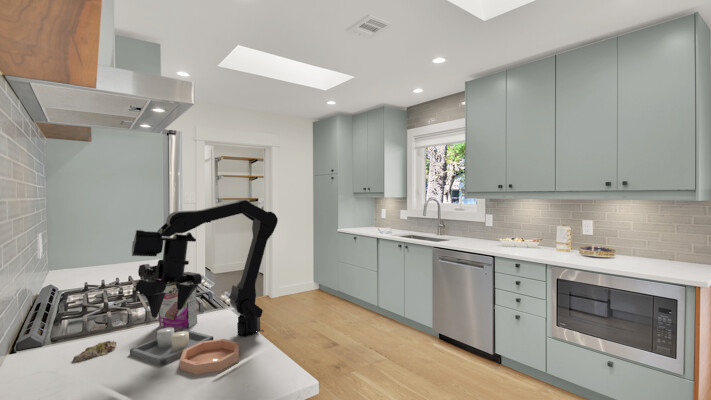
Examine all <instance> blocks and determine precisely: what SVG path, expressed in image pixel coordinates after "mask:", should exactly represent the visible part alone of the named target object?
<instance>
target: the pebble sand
mask: <svg viewBox="0 0 711 400" xmlns="http://www.w3.org/2000/svg"><path fill="white" fill-rule="evenodd" d="M171 340H172V353H174V352H177V351H179V350H181V349H183V348H186V347H188V346H189V332H187V331H181V332H176V333H174V334H172V335H171Z"/></svg>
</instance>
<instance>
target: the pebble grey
mask: <svg viewBox="0 0 711 400" xmlns="http://www.w3.org/2000/svg"><path fill="white" fill-rule="evenodd" d="M174 332H175V327H163V328H161V329H158V330H157V331H156V339H157V347H158V348H159V349H165V348H169V347H172V340H171V335H172V334H174Z"/></svg>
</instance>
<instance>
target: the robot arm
mask: <svg viewBox="0 0 711 400" xmlns="http://www.w3.org/2000/svg"><path fill="white" fill-rule="evenodd" d="M240 214H241V215H243V216H244V217H245V218H248V219H249V220H251V221H252V223H251V224H252V228H251V230H252V239H251V243H250V245H249V246H250V247H249V250H248V254H247V256H246V257H247V258H246V261H245V265H244V267H243V270H242V275H241V279H240V281H239V282H238V284H237V285H235V284H233V285H231V291H230V292H231V293H230V294H229V295H228V299H229V304H230V306H231V308H233V309H234V310H235V311H236V312H237V313H238V314H239V316H238V317H237V321H238V322H237V326H236V327H237V337H242V338H245V337H248V336H253V335H257V334H258V333H259V332H262V333H264V332H265V331H264V329H261V317H262V314H263V312H264V310H263V309H262V308H261V307H259V306H258V305H257V304H256V300H257V299H256V298H257V292H256V290H257V289H256V283H257V279H258V276H259V272H260V269H261V265H262V261H263V259H264V254H265V250H266V246H267V242H268V240H269V239H270V237H271V236H272V235H273V233H274V232H275V229H276V228H277V225H278V221H279V219H278V216H277V215H276V213H274V212H272V211H266V210H264V209H263V208H261V207H259V206H257V205H255V204H253V203H251V202H250V201H249V200H247V199H239V200H236V201H233V202H230V203H226V204H224V203H223V204H221V205H216V206H212V207H208V208H204V209H198V210H182V211H181V210H180V211H173V212H171V213H170V214H168V216H167V217H166V220H165V222H164V224H163V225H162V226H161V227H159V229H158V230H157V231H148V230H147V231H145V230H143V229H136V230H135V233H134V234H135V235H134V238H133V240H132V244H131V256H132V257H157V256H158V255H159V254H161V253H162V252H163V254H162V259H158V261H157V264H156V265H153V266H152V265H150V264H149V263H144V264H140V265H139V266H138V270H137V273H138V277H140V278H143V279H139V280H138V281H137V282H135V283H136V284H135V289H134V291H135V292H137V293H139V294H140V295H143V296H144V297H145V298H146V300H147V303H148V306H149V310H150V314H151V317H152V318H155V319H156V318H157V317H158V316H159V310H160V308H161V305H162V302H163V299H164V296H165V294H166V293H163V292H164V290H165V289H166V286H171V285H176V287H177V289H178V300H177V309H178V310H181V309H182V308H183V306H184V305H185V303H186V301H187V300H188V298H189V297H190V295H191V294H192V293H193V291H194V290H195V288H196V289H197V288H198V287H199V285H200V284H202V279H203V277H202V275H201V273H198V272H197V273H196V272H191V271H190V272H189V271H185V268H186V265H189V261H190V260H187V253H188V252H187V251H188V243H189V242H196V241H197V239H196V238H195V237H194V236H193V234H192V233H191V232H189V231H191V230H193V229H196V228H198V227H200V226H201V225H203V224H206V223H209V222H213V221H218V220H222V219H225V218H228V217H234V216H236V215H240ZM184 233H185V234H184ZM172 236H173V237H172ZM163 247H164V248H163ZM159 279H161V280H159ZM167 282H169V283H167ZM256 331H257V332H258V333H257V332H256Z"/></svg>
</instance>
